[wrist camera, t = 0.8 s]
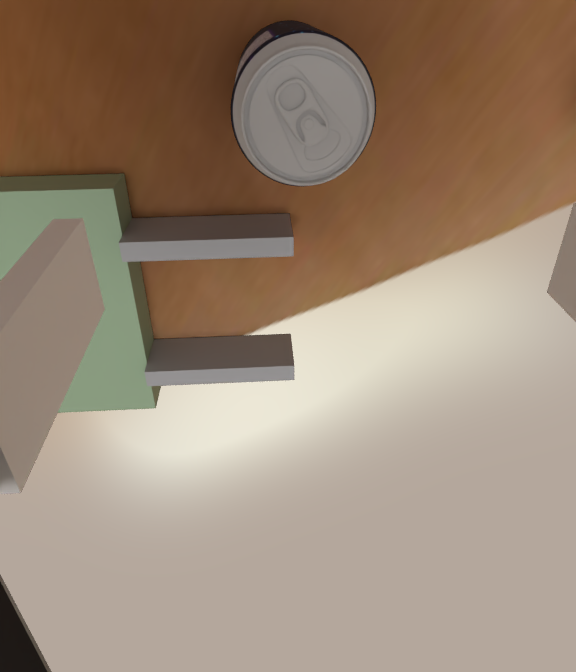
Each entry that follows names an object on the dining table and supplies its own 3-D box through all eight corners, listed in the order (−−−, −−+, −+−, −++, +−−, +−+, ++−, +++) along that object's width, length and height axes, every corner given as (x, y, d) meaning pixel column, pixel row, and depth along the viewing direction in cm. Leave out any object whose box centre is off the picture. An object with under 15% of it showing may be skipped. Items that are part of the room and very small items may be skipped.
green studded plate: (-80, 178, 31) (-120, 200, 28) (288, 169, 32) (293, 188, 29) (2, 389, 40) (-20, 425, 36) (291, 377, 41) (294, 411, 37)
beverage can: (274, 151, 31) (285, 222, 21) (216, 63, 29) (197, 98, 19) (356, 93, 30) (409, 141, 20) (303, -5, 27) (332, -7, 17)
